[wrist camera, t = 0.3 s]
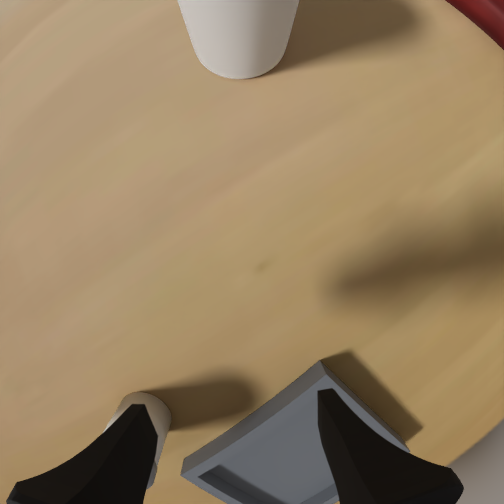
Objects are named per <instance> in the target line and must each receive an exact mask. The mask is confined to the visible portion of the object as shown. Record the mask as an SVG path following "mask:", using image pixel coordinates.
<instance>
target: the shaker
mask: <svg viewBox="0 0 504 504" xmlns="http://www.w3.org/2000/svg"><path fill="white" fill-rule="evenodd" d="M131 404H145V406H146V408H147V411H148V413H149V416H150V418H151V420H152V423H153V425H154V427H155V430H156V432H157V434H158V442H157V450H156V456H155V460H154V463H153V467H152V471H151V474H150V478H149V481H148V485H147V488H146V489H148V488H150V487H151V486H152V485H153V483H154V480H155V476H156V473H157V465H158V462H159V459H160V455H161V452H162V449H163V446H164V443H165V440H166V437H167V434H168V431H169V427H170V424H171V420H172V417H171V413H170V410H169V409H168V407H167V406H166V405H165V403H164V402H163V401H161V400H160V399H159V398H157V397H155V396H153V395H151V394H148V393H144V392H134V393H130V394H128V395H126V396H125V397H124V398H123V400H122V401H121V403H120V405H119V406H118V408H117V410H116V412H115V413H114V415H113V417H112V418H111V420H110V422H109V423H108V425H107V427H106V428H105V430H104V432H105V431H106V430H107V429H108V428H109V427H110V426H111V425H112V424H113V423H114V422H115V421H116V420H117V419H118V418H119V417H120V415H121V414H122V413H123V412H124V411H125V410H126V409H127V408H128V407H129V406H130V405H131ZM104 432H103V433H104Z"/></svg>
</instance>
